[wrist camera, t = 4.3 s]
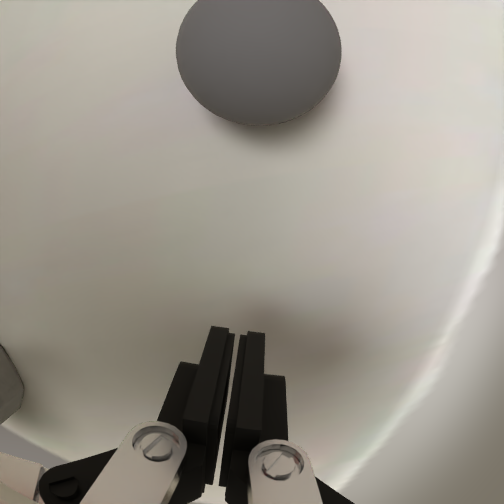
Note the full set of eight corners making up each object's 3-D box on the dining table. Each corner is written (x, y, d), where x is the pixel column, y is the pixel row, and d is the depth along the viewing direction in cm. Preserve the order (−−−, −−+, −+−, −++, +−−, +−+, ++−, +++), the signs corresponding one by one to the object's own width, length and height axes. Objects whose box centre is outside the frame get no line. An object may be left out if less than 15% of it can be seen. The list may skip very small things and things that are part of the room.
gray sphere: (186, 123, 13) (139, 109, 7) (204, 10, 11) (174, -54, 6) (316, 139, 13) (352, 134, 7) (329, 24, 11) (365, -35, 6)
